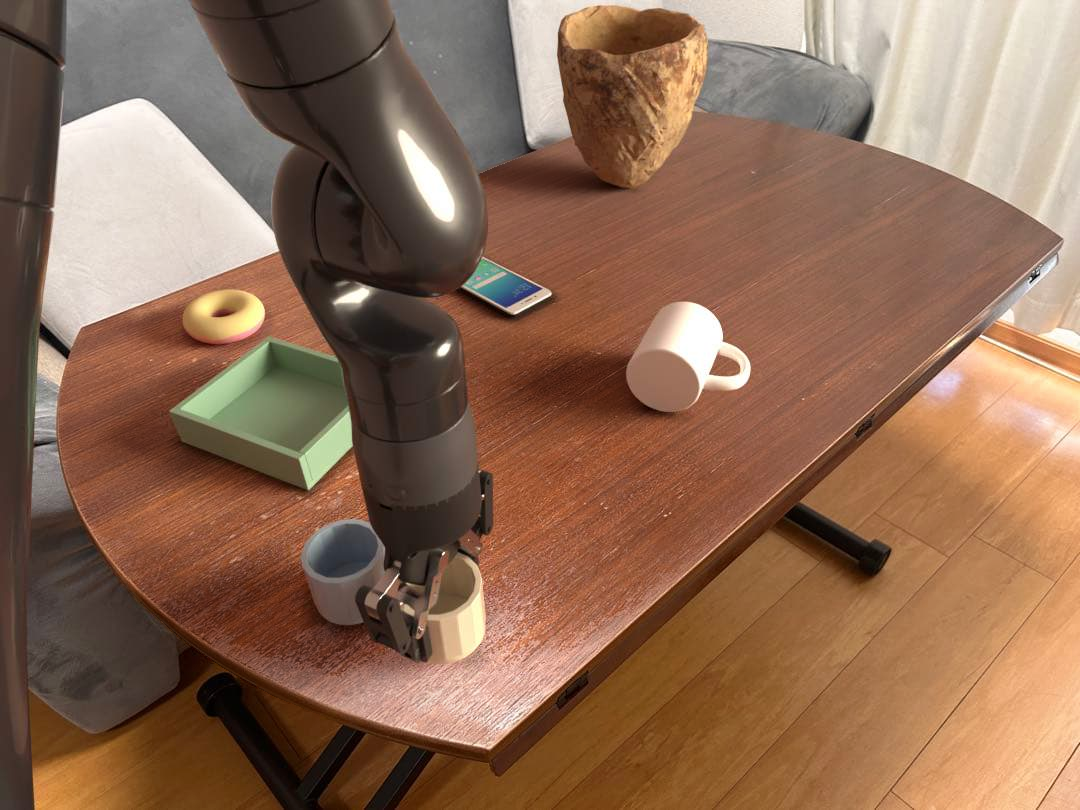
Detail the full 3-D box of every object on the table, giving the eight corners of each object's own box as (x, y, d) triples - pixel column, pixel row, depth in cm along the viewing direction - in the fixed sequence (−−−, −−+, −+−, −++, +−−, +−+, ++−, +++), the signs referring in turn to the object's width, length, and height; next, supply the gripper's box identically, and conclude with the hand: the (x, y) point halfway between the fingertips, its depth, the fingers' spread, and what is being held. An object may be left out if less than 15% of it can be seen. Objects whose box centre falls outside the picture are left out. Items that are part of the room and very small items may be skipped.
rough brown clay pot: (529, 192, 124) (524, 26, 108) (597, 148, 139) (602, -4, 123) (652, 224, 114) (666, 46, 99) (712, 173, 129) (733, 11, 113)
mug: (623, 402, 82) (627, 341, 77) (650, 353, 89) (655, 294, 84) (734, 430, 78) (746, 368, 73) (753, 376, 85) (765, 316, 80)
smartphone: (478, 253, 106) (554, 291, 98) (478, 259, 107) (554, 297, 98) (436, 272, 102) (512, 314, 94) (437, 278, 103) (512, 320, 94)
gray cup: (363, 637, 60) (350, 594, 56) (299, 607, 62) (283, 565, 58) (408, 577, 64) (399, 534, 61) (347, 552, 66) (335, 509, 63)
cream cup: (458, 677, 56) (452, 633, 52) (386, 644, 58) (376, 600, 54) (500, 611, 60) (496, 567, 57) (432, 583, 62) (424, 539, 59)
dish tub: (308, 490, 72) (299, 459, 70) (181, 441, 78) (168, 411, 75) (395, 403, 82) (390, 373, 80) (277, 365, 88) (268, 335, 86)
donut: (219, 370, 91) (284, 328, 95) (206, 344, 88) (274, 302, 92) (176, 329, 95) (239, 291, 100) (161, 302, 92) (228, 264, 96)
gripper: (429, 382, 54) (450, 538, 65) (296, 517, 44) (345, 676, 55) (523, 410, 51) (528, 568, 62) (403, 560, 41) (434, 718, 52)
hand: (442, 618), depth 58 cm, fingers closed on cream cup, 6 cm apart
